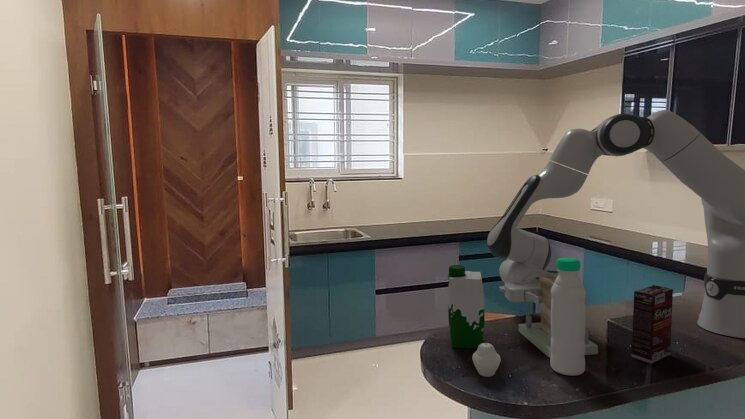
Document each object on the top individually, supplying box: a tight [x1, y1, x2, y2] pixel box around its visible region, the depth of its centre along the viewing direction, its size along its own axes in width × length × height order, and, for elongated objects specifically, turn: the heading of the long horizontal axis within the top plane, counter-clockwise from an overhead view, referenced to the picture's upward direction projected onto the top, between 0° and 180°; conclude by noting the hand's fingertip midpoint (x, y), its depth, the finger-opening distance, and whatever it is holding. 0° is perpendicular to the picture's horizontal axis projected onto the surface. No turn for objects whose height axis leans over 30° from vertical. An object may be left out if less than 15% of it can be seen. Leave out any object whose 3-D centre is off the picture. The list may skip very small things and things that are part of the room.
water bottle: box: [549, 257, 587, 377], centre depth 99 cm, size 7×7×25 cm
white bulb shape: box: [471, 342, 502, 378], centre depth 100 cm, size 6×6×7 cm
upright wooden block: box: [540, 276, 557, 335], centre depth 114 cm, size 4×8×14 cm, turn 6°
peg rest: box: [518, 314, 599, 359], centre depth 115 cm, size 12×17×5 cm
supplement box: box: [631, 284, 674, 365], centre depth 104 cm, size 9×5×16 cm, turn 122°
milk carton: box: [447, 264, 485, 350], centre depth 116 cm, size 9×9×20 cm
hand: (557, 299), depth 113 cm, fingers open, 8 cm apart
